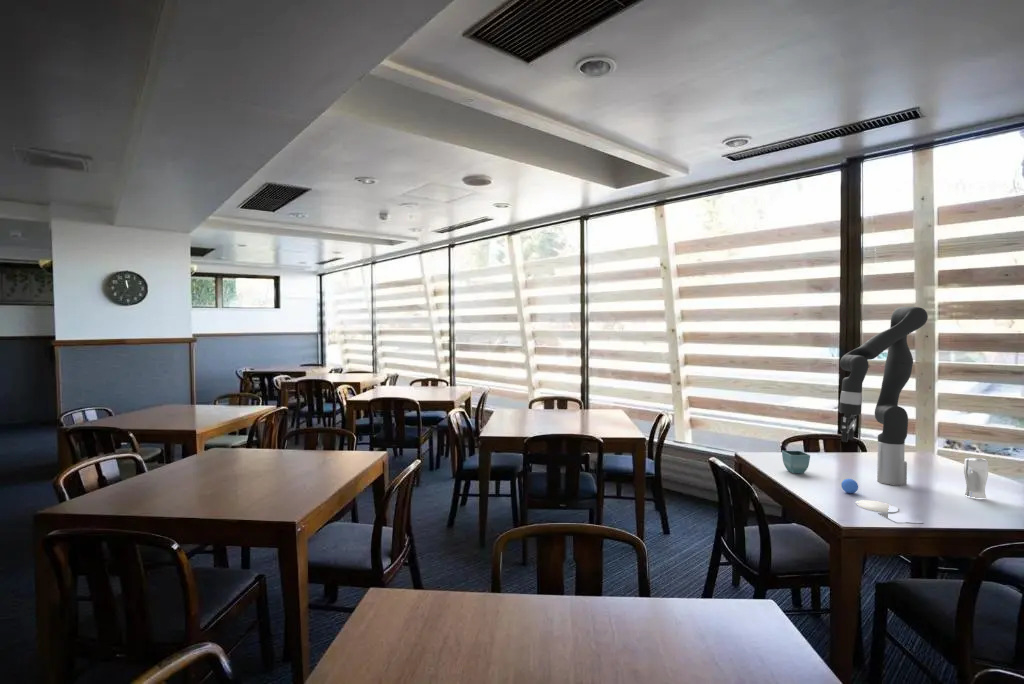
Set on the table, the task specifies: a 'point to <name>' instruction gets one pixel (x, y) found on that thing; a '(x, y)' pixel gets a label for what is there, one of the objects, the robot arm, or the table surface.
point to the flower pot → (796, 461)
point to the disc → (873, 505)
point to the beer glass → (975, 476)
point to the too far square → (884, 514)
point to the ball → (849, 485)
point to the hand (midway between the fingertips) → (847, 440)
